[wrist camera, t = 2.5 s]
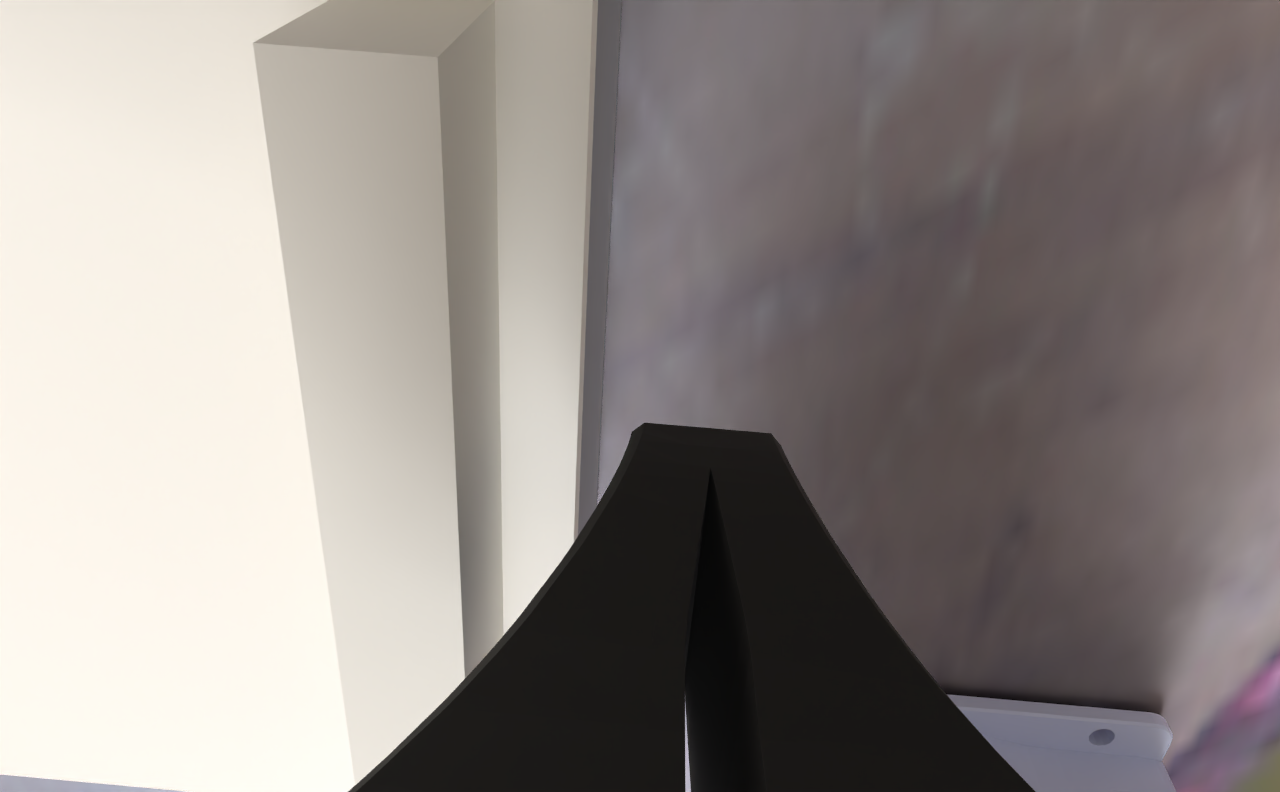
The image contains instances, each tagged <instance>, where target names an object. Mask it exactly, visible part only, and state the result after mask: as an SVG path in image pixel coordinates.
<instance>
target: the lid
mask: <svg viewBox="0 0 1280 792" xmlns="http://www.w3.org/2000/svg"><path fill="white" fill-rule="evenodd" d="M597 16H598V0H0V774H1V775H12V776H23V777H34V778H45V779H56V780H67V781H78V782H89V783H100V784H111V785H122V786H133V787H144V788H155V789H166V790H176V791H187V792H348V791H349V790H350V789H352V788H353V787H354V786H355V785H356V784H357V783H358V782H359V781H361V780H362V779H363V778H364V777H365V776H366V775H367V774H368V773H369V772H371V771H372V770H373V769H374V768H375V767H376V766H377V765H378V764H379V763H380V762H381V761H383V760H384V759H385V758H386V757H387V756H388V755H389V754H390V753H391V752H392V751H393V750H394V749H395V748H396V747H397V746H398V745H399V744H400V743H401V742H402V741H404V740H405V739H406V738H407V737H408V736H409V735H410V734H411V733H412V732H413V731H414V730H415V729H416V728H417V727H418V726H419V725H420V724H421V723H422V722H423V721H424V720H425V719H426V718H427V717H428V716H429V715H430V714H431V713H432V712H433V711H434V710H435V709H436V708H437V707H438V706H439V705H440V704H441V703H442V702H443V701H444V700H445V699H446V698H447V697H448V696H449V695H450V694H451V693H452V692H453V691H454V690H455V689H456V688H457V687H458V686H459V684H460V683H461V682H462V681H463V680H464V679H465V678H466V677H467V676H468V675H469V674H470V673H471V672H472V670H473V669H474V668H475V667H476V666H477V665H478V664H479V663H480V662H481V661H482V660H483V658H484V657H485V656H486V655H487V654H488V653H489V652H490V650H491V649H492V648H493V647H494V646H495V645H496V644H497V642H498V641H499V640H500V639H501V638H502V636H503V635H504V634H505V633H506V632H507V631H508V629H509V628H510V627H511V626H512V625H513V623H514V622H515V621H516V620H517V619H518V617H519V616H520V615H521V614H522V612H523V611H524V610H525V608H526V607H527V606H528V604H529V603H530V602H531V600H532V599H533V598H534V596H535V595H536V594H537V592H538V591H539V590H540V589H541V587H542V586H543V585H544V583H545V582H546V581H547V579H548V578H549V577H550V575H551V574H552V573H553V571H554V570H555V569H556V567H557V566H558V565H559V563H560V562H561V561H562V559H563V558H564V556H565V555H566V554H567V552H568V551H569V549H570V548H571V546H572V545H573V543H574V541H575V540H576V538H577V537H578V518H579V492H580V465H581V439H582V412H583V386H584V359H585V333H586V307H587V280H588V254H589V227H590V201H591V174H592V148H593V122H594V95H595V69H596V42H597Z"/></svg>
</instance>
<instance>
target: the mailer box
mask: <svg viewBox="0 0 1280 792" xmlns="http://www.w3.org/2000/svg"><path fill="white" fill-rule="evenodd" d="M621 11H622V0H598V16H597V42H596V69H595V95H594V122H593V148H592V174H591V201H590V227H589V254H588V280H587V307H586V333H585V359H584V386H583V412H582V439H581V465H580V492H579V518H578V535H579V534H580V532H581V531H582V529H583V527H584V526H585V524H586V523H587V521H588V520H589V518H590V517H591V515H592V513H593V512H594V510H595V509H596V507H597V493H598V473H599V453H600V433H601V412H602V392H603V372H604V352H605V332H606V312H607V292H608V272H609V252H610V232H611V212H612V192H613V172H614V152H615V132H616V111H617V91H618V71H619V51H620V31H621Z"/></svg>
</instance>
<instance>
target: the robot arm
mask: <svg viewBox="0 0 1280 792" xmlns="http://www.w3.org/2000/svg"><path fill="white" fill-rule="evenodd" d="M685 701H686V717H687V734H688V750H689V765H690V781H691V792H1176V790H1175V788H1174V786H1173V784H1172V782H1171V779H1170V777H1169V775H1168V773H1167V771H1166V769H1165V767H1164V764H1163V762H1162V760H1163V758H1164V756H1165V754H1166V752H1167V750H1168V748H1169V746H1170V744H1171V742H1172V738H1173V734H1172V732H1171V730H1170V728H1169V726H1168V724H1167V722H1166V720H1165V718H1163V717H1162V716H1161V715H1159V714H1155V713H1151V712H1141V711H1130V710H1118V709H1107V708H1096V707H1084V706H1073V705H1062V704H1051V703H1039V702H1028V701H1017V700H1005V699H994V698H983V697H971V696H960V695H949V694H946V693H945V692H944V691H943V689H942V688H941V687H940V686H939V685H938V684H937V682H936V681H935V680H934V679H933V677H932V676H931V675H930V674H929V672H928V671H927V670H926V669H925V667H924V666H923V665H922V664H921V662H920V661H919V660H918V659H917V657H916V656H915V655H914V653H913V652H912V651H911V650H910V648H909V647H908V646H907V644H906V643H905V642H904V640H903V639H902V638H901V636H900V635H899V634H898V632H897V631H896V630H895V628H894V627H893V626H892V625H891V623H890V622H889V621H888V619H887V618H886V617H885V615H884V614H883V612H882V611H881V610H880V608H879V607H878V605H877V604H876V603H875V601H874V600H873V598H872V597H871V596H870V594H869V593H868V591H867V590H866V588H865V587H864V585H863V584H862V582H861V581H860V579H859V578H858V576H857V575H856V573H855V572H854V570H853V569H852V567H851V566H850V564H849V563H848V561H847V560H846V558H845V557H844V555H843V554H842V552H841V551H840V549H839V548H838V546H837V545H836V543H835V542H834V540H833V538H832V537H831V535H830V534H829V532H828V530H827V529H826V527H825V525H824V524H823V522H822V521H821V519H820V517H819V515H818V514H817V512H816V510H815V509H814V507H813V505H812V503H811V502H810V500H809V498H808V497H807V495H806V493H805V491H804V489H803V488H802V486H801V484H800V482H799V480H798V479H797V477H796V475H795V473H794V471H793V469H792V467H791V465H790V463H789V461H788V459H787V457H786V455H785V453H784V451H783V449H782V447H781V445H780V444H779V443H778V441H777V440H776V439H775V438H774V437H773V435H772V434H771V433H759V432H748V431H736V430H724V429H712V428H700V427H688V426H676V425H665V424H653V423H644V424H642V425H641V426H639V427H638V428H637V429H635V430H634V431H632V434H631V437H630V441H629V444H628V447H627V449H626V452H625V454H624V456H623V459H622V461H621V463H620V465H619V467H618V469H617V471H616V473H615V475H614V477H613V479H612V481H611V483H610V484H609V486H608V488H607V490H606V492H605V493H604V495H603V497H602V499H601V501H600V502H599V504H598V506H597V507H596V509H595V510H594V512H593V513H592V515H591V517H590V518H589V520H588V521H587V523H586V524H585V526H584V527H583V529H582V531H581V532H580V534H579V535H578V537H577V538H576V540H575V541H574V543H573V545H572V546H571V548H570V549H569V551H568V552H567V554H566V555H565V556H564V558H563V559H562V561H561V562H560V563H559V565H558V566H557V567H556V569H555V570H554V571H553V573H552V574H551V575H550V577H549V578H548V579H547V581H546V582H545V583H544V585H543V586H542V587H541V589H540V590H539V591H538V592H537V594H536V595H535V596H534V598H533V599H532V600H531V602H530V603H529V604H528V606H527V607H526V608H525V610H524V611H523V612H522V614H521V615H520V616H519V617H518V619H517V620H516V621H515V622H514V623H513V625H512V626H511V627H510V628H509V629H508V631H507V632H506V633H505V634H504V635H503V636H502V638H501V639H500V640H499V641H498V642H497V644H496V645H495V646H494V647H493V648H492V649H491V650H490V652H489V653H488V654H487V655H486V656H485V657H484V658H483V660H482V661H481V662H480V663H479V664H478V665H477V666H476V667H475V668H474V669H473V670H472V672H471V673H470V674H469V675H468V676H467V677H466V678H465V679H464V680H463V681H462V682H461V683H460V684H459V686H458V687H457V688H456V689H455V690H454V691H453V692H452V693H451V694H450V695H449V696H448V697H447V698H446V699H445V700H444V701H443V702H442V703H441V704H440V705H439V706H438V707H437V708H436V709H435V710H434V711H433V712H432V713H431V714H430V715H429V716H428V717H427V718H426V719H425V720H424V721H423V722H422V723H421V724H420V725H419V726H418V727H417V728H416V729H415V730H414V731H413V732H412V733H411V734H410V735H409V736H408V737H407V738H406V739H405V740H404V741H402V742H401V743H400V744H399V745H398V746H397V747H396V748H395V749H394V750H393V751H392V752H391V753H390V754H389V755H388V756H387V757H386V758H385V759H384V760H383V761H381V762H380V763H379V764H378V765H377V766H376V767H375V768H374V769H373V770H372V771H371V772H369V773H368V774H367V775H366V776H365V777H364V778H363V779H362V780H361V781H359V782H358V783H357V784H356V785H355V786H354V787H353V788H352V789H350V790H349V791H348V792H685ZM1099 729H1100V730H1099Z"/></svg>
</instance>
